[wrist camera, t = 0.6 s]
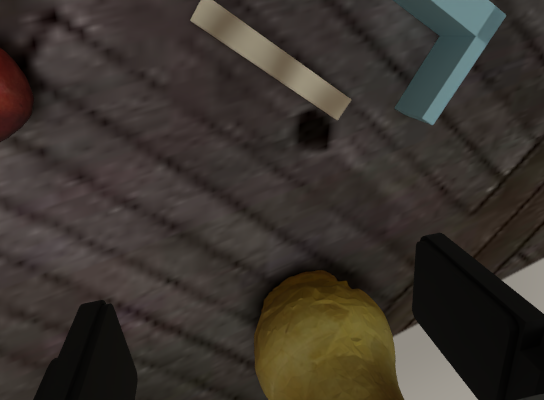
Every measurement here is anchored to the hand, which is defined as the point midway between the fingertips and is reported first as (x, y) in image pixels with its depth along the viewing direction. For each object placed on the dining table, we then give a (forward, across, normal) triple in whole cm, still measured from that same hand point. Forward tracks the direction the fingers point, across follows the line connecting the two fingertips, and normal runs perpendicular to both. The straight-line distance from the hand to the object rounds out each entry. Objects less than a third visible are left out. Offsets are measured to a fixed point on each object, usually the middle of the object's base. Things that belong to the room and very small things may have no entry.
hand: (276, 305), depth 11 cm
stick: (+33, -7, -4) cm, 34 cm away
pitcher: (+33, -7, +29) cm, 45 cm away
